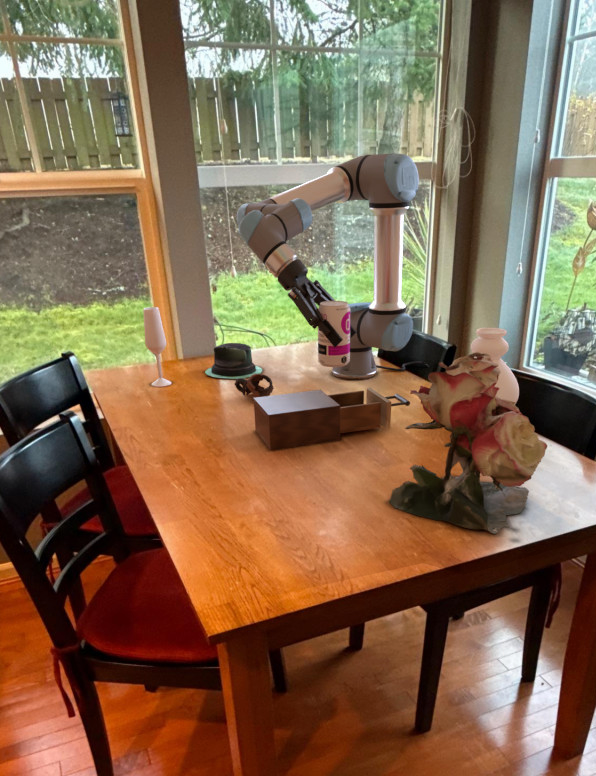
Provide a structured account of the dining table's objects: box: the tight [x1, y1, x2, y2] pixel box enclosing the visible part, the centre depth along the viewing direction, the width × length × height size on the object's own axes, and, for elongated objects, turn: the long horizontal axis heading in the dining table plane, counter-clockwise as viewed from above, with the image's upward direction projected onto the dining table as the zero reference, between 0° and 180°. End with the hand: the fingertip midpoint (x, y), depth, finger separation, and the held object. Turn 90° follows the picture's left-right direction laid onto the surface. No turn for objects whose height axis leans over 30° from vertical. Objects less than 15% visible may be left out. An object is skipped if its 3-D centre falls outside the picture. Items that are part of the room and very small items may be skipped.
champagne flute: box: [143, 306, 172, 387], centre depth 204 cm, size 7×7×24 cm
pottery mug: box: [234, 373, 275, 402], centre depth 193 cm, size 12×10×8 cm
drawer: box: [327, 387, 411, 434], centre depth 169 cm, size 25×13×7 cm, turn 110°
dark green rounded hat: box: [204, 342, 263, 380], centre depth 220 cm, size 15×19×20 cm
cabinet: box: [252, 389, 341, 451], centre depth 164 cm, size 19×15×9 cm
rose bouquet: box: [388, 352, 548, 535], centre depth 125 cm, size 26×29×30 cm
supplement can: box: [317, 300, 350, 368], centre depth 159 cm, size 8×8×15 cm
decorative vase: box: [470, 327, 520, 405], centre depth 165 cm, size 18×18×25 cm
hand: (345, 339), depth 159 cm, fingers closed on supplement can, 8 cm apart
